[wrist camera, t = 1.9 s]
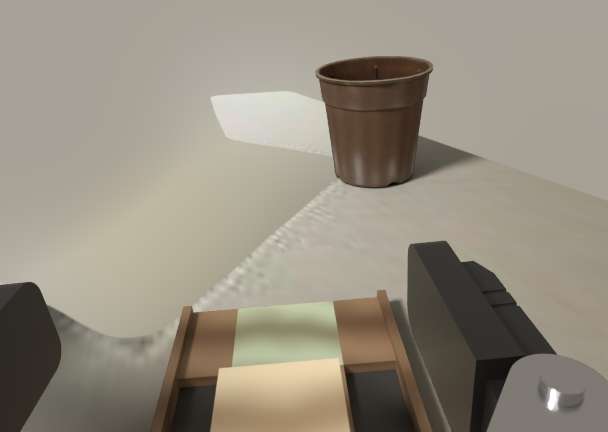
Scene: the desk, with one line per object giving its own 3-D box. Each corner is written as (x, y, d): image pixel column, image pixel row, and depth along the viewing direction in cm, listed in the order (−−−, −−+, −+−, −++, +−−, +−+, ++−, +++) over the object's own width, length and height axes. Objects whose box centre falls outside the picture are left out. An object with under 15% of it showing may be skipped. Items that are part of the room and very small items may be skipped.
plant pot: (309, 192, 68) (302, 80, 61) (331, 152, 82) (328, 56, 74) (424, 198, 64) (432, 79, 57) (427, 155, 78) (434, 54, 70)
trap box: (473, 586, 25) (477, 567, 24) (114, 620, 25) (104, 602, 24) (384, 306, 45) (385, 289, 44) (187, 323, 45) (183, 306, 44)
